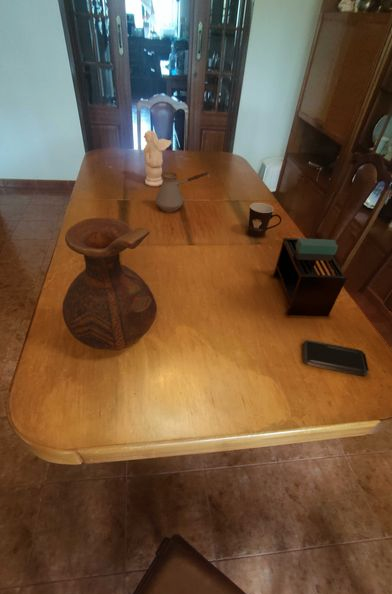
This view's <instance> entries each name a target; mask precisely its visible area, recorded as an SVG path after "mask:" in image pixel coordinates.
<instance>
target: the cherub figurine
mask: <svg viewBox="0 0 392 594" xmlns="http://www.w3.org/2000/svg"><path fill="white" fill-rule="evenodd" d="M143 138H144V139H145V142H146V144H145V146H144V148H143V154H144V156H143V160H144V165H145V166H144V173H145V175H146V176H145V179H144V183H145V185H147V186H150V187H160V186H161V184H162V182H163V178H162V176H161V174H162V173H163V168H162V166H163V159H164V158H163V151H166V150H167V148H169V147H170V146H171V144H172V140H170V139H166V138H158V134H157V133H156V132H155V131H154V130H147V131H146V132H144V136H143Z"/></svg>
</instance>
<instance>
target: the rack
mask: <svg viewBox="0 0 392 594" xmlns="http://www.w3.org/2000/svg"><path fill="white" fill-rule="evenodd" d="M297 240H298V238H296V237H295V238H293V237H283V240H282V243H281V246H280V249H279V253H278V257H277V261H276V264H275V268H274V271H273V274H272V276H273V278H280V280H281V282H282V285H283V288H284V290H285V293H286V296H287V299H288V302H289V305H288V308H287V310H286V315H287V316H298V317H299V316H300V317H329V316H330V314H331V312H332V310H333V308H334V306H335V304H336V302H337V299H338V297H339V295H340V293H341V291H342V290H343V288H344V285H345V283H346V282H347V279H348V278H347V276H346V275H345V273H344V272H343V271H342V269H341V267H340V265H339V264H338V262H337V261H336V259H335V258H334V256H333V257H332V259H331V261H318V260H297V258H296V256H295V251H296V247H295V246H296V243H297ZM322 262H323V263H322ZM327 262H328V263H327ZM323 264H324V265H323ZM328 264H329V265H330V266H329V265H328ZM319 266H320V267H319ZM325 267H326V268H325ZM330 267H331V268H330ZM320 268H321V269H320ZM326 269H327V270H326ZM331 269H332V270H331ZM321 270H322V271H323V273H324V274H323V273H322V271H321ZM327 271H328V272H329V274H328V272H327Z"/></svg>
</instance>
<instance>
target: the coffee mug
mask: <svg viewBox="0 0 392 594" xmlns="http://www.w3.org/2000/svg"><path fill="white" fill-rule="evenodd" d="M274 210H275V209H274V207H273V205H270V204H268V203H264V202H253V203H251V204H250V205H249V212H248V213H249V216H248V227H247V228H248V229H247V234H248V236H249V237H252V238H256V239H260V238H264V237H265V234H266V232H267V230H270V229H273V228H275V227H277V226H279V225H280V224H281V223H282V217H281V215H279V214H277V213H276V214H273V213H274ZM274 217H277V218H279V222H278V223H276V224H274V225H271V226H269V224H270V220H272V219H273V218H274Z"/></svg>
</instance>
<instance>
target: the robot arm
mask: <svg viewBox="0 0 392 594" xmlns="http://www.w3.org/2000/svg"><path fill="white" fill-rule="evenodd" d="M380 216H381V217H382V218H392V184H391V186H390V192H389V193H388V199H387V201H386V202H385V205H384V208H383V209H382V211H381V214H380Z"/></svg>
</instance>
